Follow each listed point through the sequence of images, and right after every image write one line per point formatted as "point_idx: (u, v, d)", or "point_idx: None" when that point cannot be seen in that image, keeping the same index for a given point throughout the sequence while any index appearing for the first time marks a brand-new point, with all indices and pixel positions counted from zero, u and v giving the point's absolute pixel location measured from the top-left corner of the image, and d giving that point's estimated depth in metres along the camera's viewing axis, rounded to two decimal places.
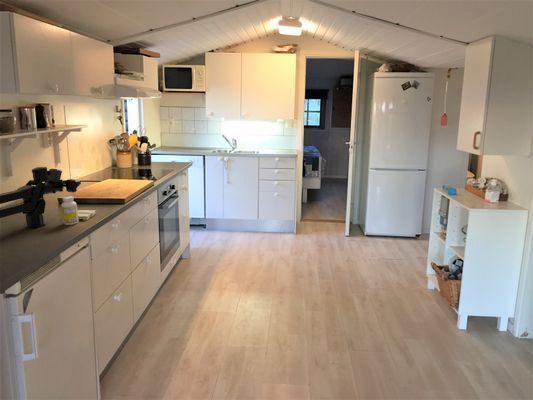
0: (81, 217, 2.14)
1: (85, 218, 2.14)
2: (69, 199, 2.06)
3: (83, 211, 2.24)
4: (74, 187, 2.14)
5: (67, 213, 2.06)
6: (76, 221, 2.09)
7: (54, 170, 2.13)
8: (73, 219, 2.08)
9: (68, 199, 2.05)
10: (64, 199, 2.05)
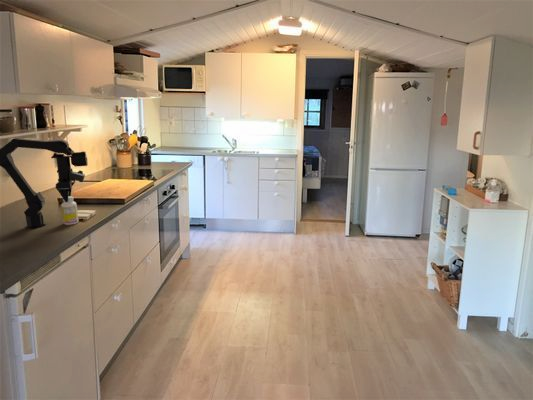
0: (81, 217, 2.14)
1: (85, 218, 2.14)
2: (69, 199, 2.06)
3: (83, 211, 2.24)
4: (61, 186, 1.97)
5: (67, 213, 2.06)
6: (76, 221, 2.09)
7: (82, 175, 2.06)
8: (73, 219, 2.08)
9: (68, 199, 2.05)
10: None
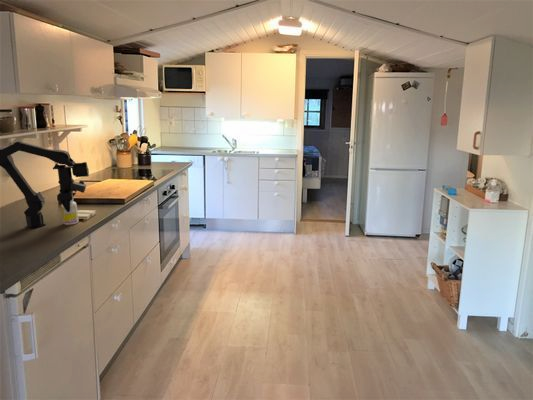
0: (81, 217, 2.14)
1: (85, 218, 2.14)
2: None
3: (83, 211, 2.24)
4: (62, 197, 1.98)
5: (67, 213, 2.06)
6: (76, 221, 2.09)
7: (84, 185, 2.08)
8: (73, 219, 2.08)
9: None
10: None
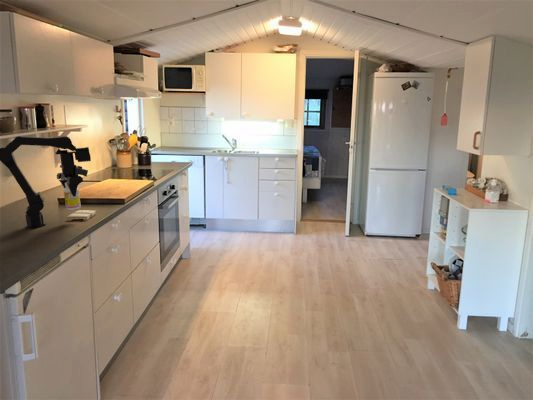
0: (81, 217, 2.14)
1: (85, 218, 2.14)
2: None
3: (83, 211, 2.24)
4: (75, 180, 2.01)
5: (73, 197, 2.08)
6: (80, 205, 2.12)
7: None
8: (78, 203, 2.11)
9: None
10: None
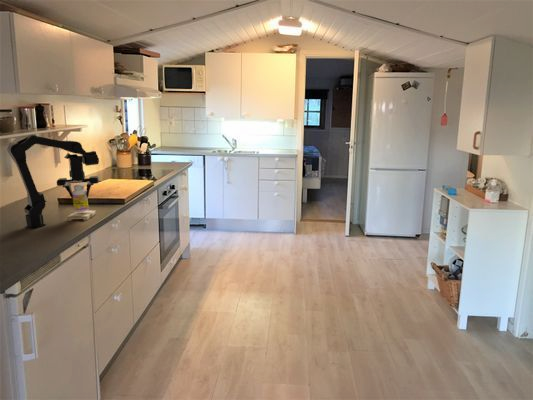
0: (81, 217, 2.14)
1: (85, 218, 2.14)
2: None
3: None
4: (98, 180, 2.18)
5: (87, 199, 2.19)
6: None
7: None
8: None
9: (83, 186, 2.18)
10: (82, 186, 2.16)
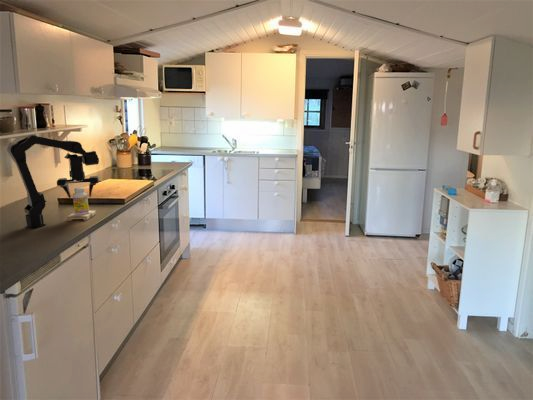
0: (81, 217, 2.14)
1: (85, 218, 2.14)
2: None
3: None
4: (98, 180, 2.18)
5: (87, 201, 2.19)
6: None
7: None
8: None
9: None
10: (83, 189, 2.16)
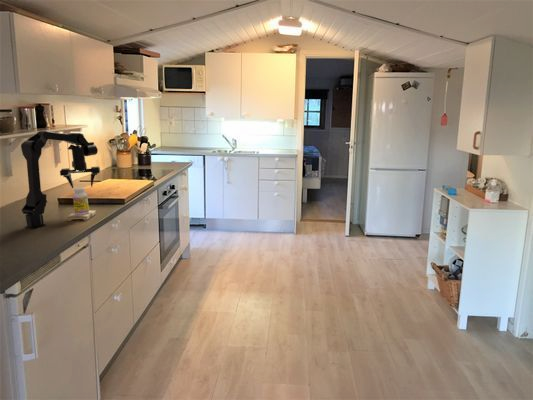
0: (81, 217, 2.14)
1: (85, 218, 2.14)
2: None
3: None
4: (99, 170, 2.28)
5: (87, 201, 2.19)
6: None
7: None
8: None
9: (84, 189, 2.18)
10: (83, 189, 2.16)
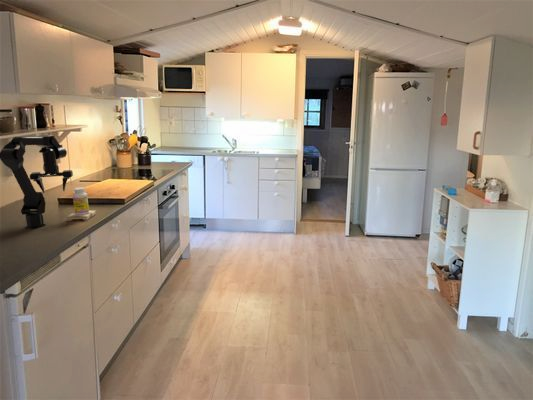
0: (81, 217, 2.14)
1: (85, 218, 2.14)
2: None
3: None
4: (71, 174, 2.19)
5: (87, 201, 2.19)
6: None
7: None
8: None
9: (84, 189, 2.18)
10: (83, 189, 2.16)
